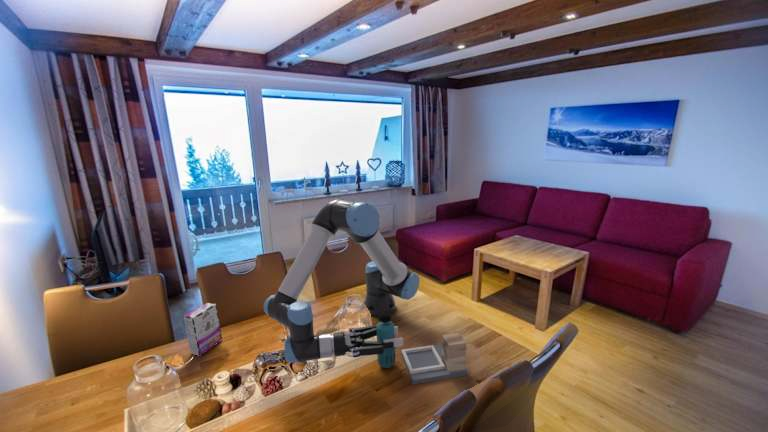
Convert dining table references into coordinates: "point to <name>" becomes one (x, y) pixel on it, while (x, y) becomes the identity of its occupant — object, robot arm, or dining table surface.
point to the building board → (427, 364)
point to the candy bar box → (202, 328)
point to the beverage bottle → (383, 333)
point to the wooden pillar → (453, 352)
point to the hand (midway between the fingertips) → (399, 335)
